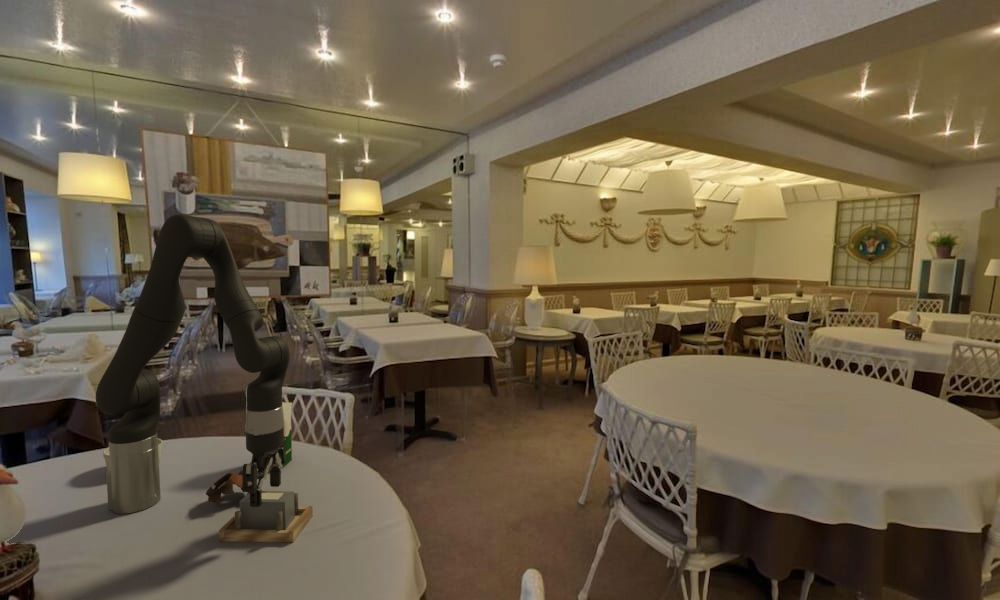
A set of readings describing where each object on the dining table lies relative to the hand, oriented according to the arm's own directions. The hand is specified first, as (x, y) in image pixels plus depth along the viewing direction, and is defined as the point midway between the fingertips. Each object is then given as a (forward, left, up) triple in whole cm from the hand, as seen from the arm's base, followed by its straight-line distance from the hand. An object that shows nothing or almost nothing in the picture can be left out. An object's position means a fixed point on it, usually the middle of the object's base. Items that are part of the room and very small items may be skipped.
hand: (266, 495), depth 101 cm
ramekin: (-52, +27, -8) cm, 59 cm away
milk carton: (-14, +31, -8) cm, 35 cm away
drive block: (0, 0, -7) cm, 7 cm away
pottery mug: (-14, +12, -8) cm, 20 cm away
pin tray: (0, 0, -8) cm, 8 cm away
